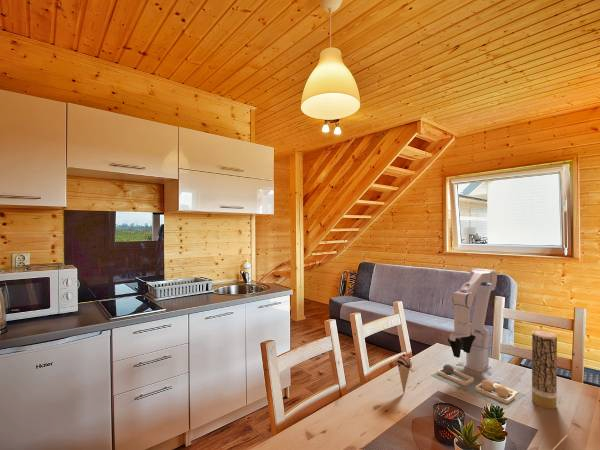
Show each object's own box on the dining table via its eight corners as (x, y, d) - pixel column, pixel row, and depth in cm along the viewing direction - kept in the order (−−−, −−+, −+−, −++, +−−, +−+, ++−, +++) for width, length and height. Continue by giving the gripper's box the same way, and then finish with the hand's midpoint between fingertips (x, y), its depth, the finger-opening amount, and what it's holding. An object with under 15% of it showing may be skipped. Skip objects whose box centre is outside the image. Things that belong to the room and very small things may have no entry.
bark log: (561, 411, 106) (561, 337, 105) (538, 409, 107) (538, 336, 107) (549, 400, 112) (549, 331, 112) (528, 398, 114) (528, 329, 113)
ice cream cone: (394, 395, 115) (394, 355, 115) (397, 388, 120) (397, 349, 120) (410, 399, 113) (410, 358, 113) (412, 391, 118) (413, 352, 118)
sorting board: (452, 366, 138) (452, 362, 138) (525, 395, 115) (525, 391, 115) (430, 376, 129) (430, 372, 129) (505, 410, 106) (505, 405, 106)
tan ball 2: (498, 392, 116) (498, 382, 116) (510, 397, 113) (510, 386, 113) (493, 396, 114) (493, 385, 114) (505, 401, 111) (505, 390, 111)
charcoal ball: (446, 371, 133) (446, 361, 133) (455, 375, 130) (455, 365, 130) (441, 373, 131) (441, 364, 131) (450, 377, 128) (450, 367, 128)
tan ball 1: (483, 387, 120) (483, 376, 120) (495, 391, 117) (495, 380, 117) (479, 390, 118) (479, 379, 118) (491, 394, 115) (491, 384, 115)
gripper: (461, 316, 135) (461, 347, 135) (442, 322, 127) (442, 355, 127) (478, 320, 129) (478, 353, 129) (459, 326, 121) (459, 361, 121)
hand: (461, 354), depth 128 cm, fingers open, 7 cm apart
